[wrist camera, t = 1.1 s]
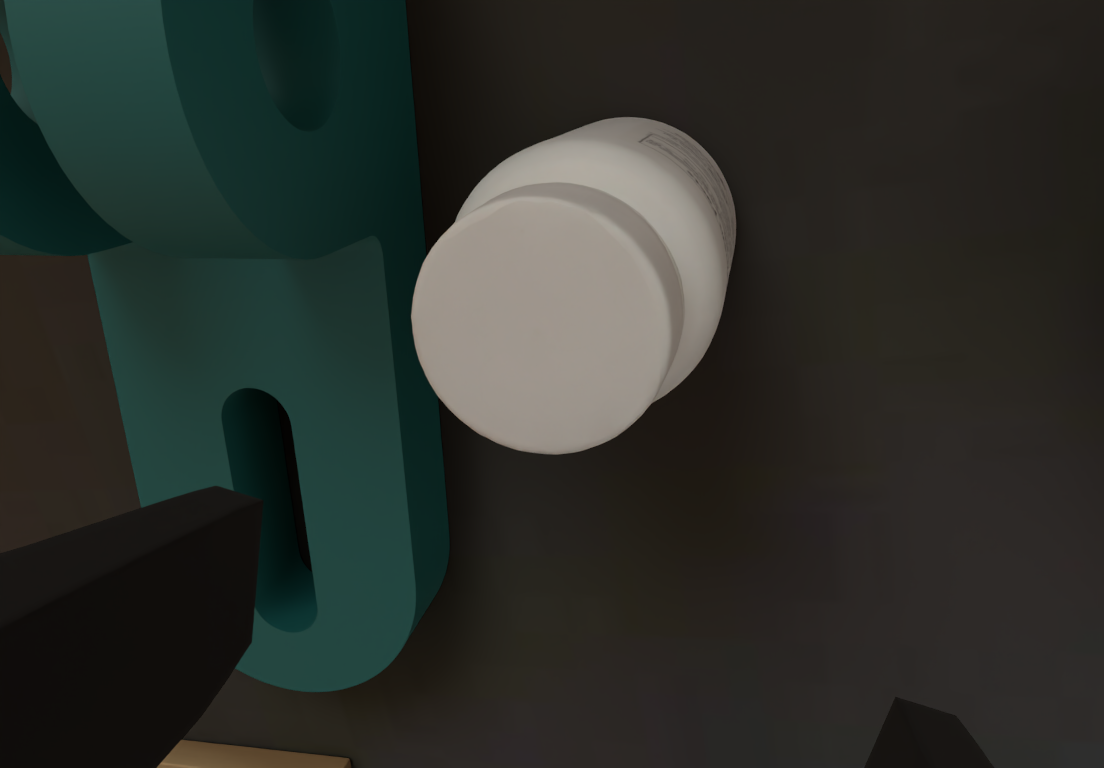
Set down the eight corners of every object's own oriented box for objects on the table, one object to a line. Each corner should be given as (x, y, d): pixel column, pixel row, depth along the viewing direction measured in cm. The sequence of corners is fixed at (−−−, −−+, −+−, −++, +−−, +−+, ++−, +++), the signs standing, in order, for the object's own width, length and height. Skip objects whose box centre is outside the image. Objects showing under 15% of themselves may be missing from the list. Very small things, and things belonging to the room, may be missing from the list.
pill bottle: (529, 326, 19) (390, 479, 12) (521, 117, 18) (358, 157, 11) (733, 333, 18) (708, 505, 11) (742, 113, 17) (720, 154, 10)
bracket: (90, -116, 18) (-350, -226, 11) (393, -144, 17) (108, -295, 10) (226, 621, 24) (-2, 857, 17) (458, 650, 23) (314, 921, 16)
